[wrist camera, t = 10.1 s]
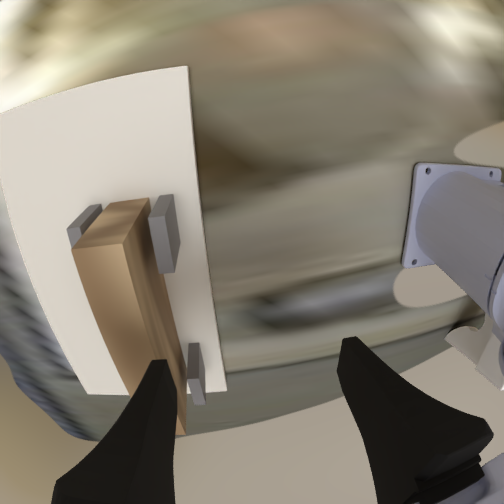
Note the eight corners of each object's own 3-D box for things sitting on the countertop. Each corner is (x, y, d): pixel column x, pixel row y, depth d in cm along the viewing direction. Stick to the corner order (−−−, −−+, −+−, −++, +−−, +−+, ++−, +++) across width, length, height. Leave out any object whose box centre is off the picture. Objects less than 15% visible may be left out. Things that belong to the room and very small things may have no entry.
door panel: (149, 197, 17) (122, 243, 12) (187, 371, 24) (185, 434, 18) (110, 202, 17) (70, 249, 12) (158, 372, 23) (151, 434, 18)
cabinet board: (188, 67, 15) (180, 56, 11) (226, 382, 26) (229, 424, 22) (-2, 116, 14) (-44, 126, 10) (90, 385, 25) (79, 423, 21)
